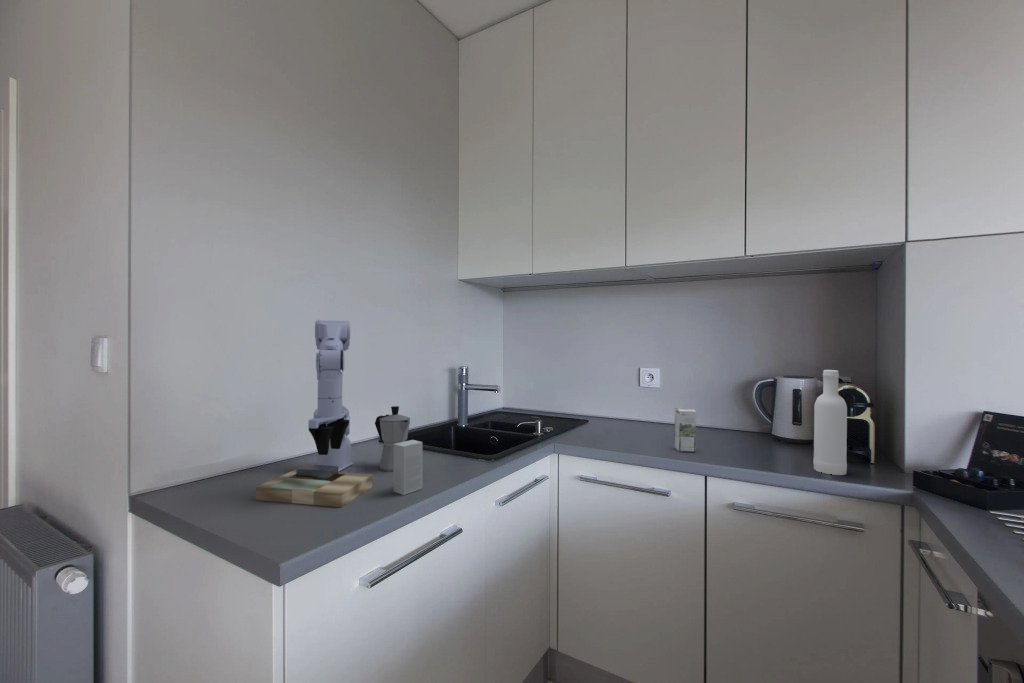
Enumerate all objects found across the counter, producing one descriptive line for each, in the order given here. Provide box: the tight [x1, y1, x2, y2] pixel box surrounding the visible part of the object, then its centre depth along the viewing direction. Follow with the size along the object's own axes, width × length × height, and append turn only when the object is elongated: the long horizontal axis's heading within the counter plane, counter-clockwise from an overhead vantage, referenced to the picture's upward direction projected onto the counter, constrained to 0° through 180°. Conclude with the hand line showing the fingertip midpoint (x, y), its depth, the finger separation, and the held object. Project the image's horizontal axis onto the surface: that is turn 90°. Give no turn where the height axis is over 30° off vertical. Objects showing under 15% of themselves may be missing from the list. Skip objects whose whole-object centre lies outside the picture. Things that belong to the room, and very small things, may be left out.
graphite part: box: [295, 463, 338, 480], centre depth 107 cm, size 4×9×2 cm, turn 80°
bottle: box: [812, 369, 848, 476], centre depth 125 cm, size 8×8×30 cm
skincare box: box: [393, 439, 424, 496], centre depth 106 cm, size 6×4×12 cm
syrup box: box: [673, 407, 697, 453], centre depth 148 cm, size 6×6×14 cm
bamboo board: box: [255, 469, 374, 508], centre depth 103 cm, size 14×22×3 cm, turn 80°
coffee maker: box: [374, 405, 411, 472], centre depth 126 cm, size 15×9×18 cm, turn 56°
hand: (329, 451), depth 106 cm, fingers open, 5 cm apart
